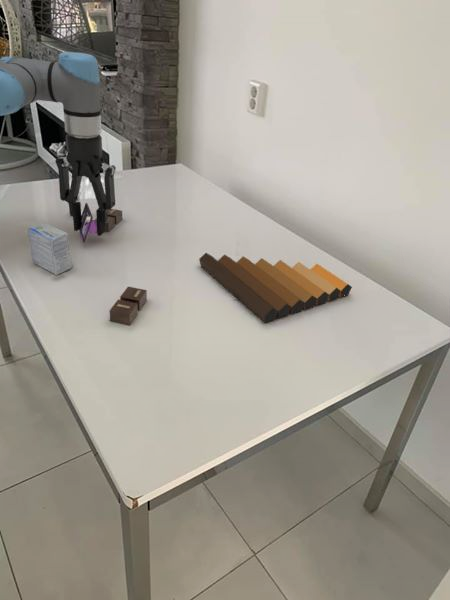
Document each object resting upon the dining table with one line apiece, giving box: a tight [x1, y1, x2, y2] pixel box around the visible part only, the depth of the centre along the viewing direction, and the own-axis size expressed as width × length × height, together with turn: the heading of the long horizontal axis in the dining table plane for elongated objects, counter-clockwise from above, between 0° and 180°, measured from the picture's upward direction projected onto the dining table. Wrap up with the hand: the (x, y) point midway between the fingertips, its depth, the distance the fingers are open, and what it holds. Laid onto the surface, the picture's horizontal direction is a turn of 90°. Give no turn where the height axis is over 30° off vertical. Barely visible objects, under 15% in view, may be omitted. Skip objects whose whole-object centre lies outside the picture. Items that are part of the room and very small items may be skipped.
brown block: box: [93, 208, 123, 233], centre depth 120 cm, size 4×9×3 cm, turn 168°
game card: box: [78, 202, 97, 244], centre depth 110 cm, size 7×5×9 cm
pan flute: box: [198, 252, 353, 324], centre depth 103 cm, size 25×3×25 cm
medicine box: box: [27, 222, 73, 276], centre depth 98 cm, size 8×4×9 cm, turn 56°
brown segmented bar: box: [109, 286, 148, 326], centre depth 88 cm, size 4×9×3 cm, turn 168°
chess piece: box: [76, 184, 84, 216], centre depth 121 cm, size 5×5×10 cm
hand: (89, 231), depth 111 cm, fingers closed on game card, 5 cm apart
